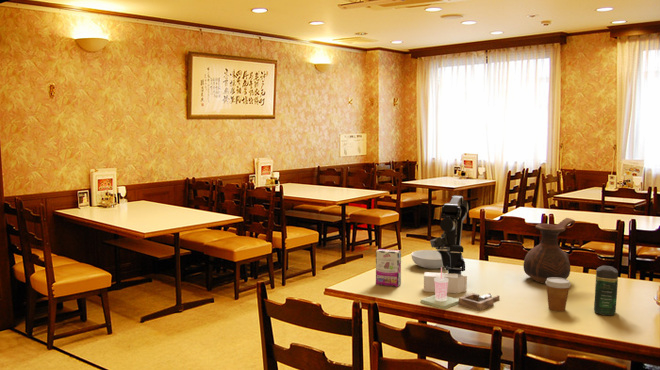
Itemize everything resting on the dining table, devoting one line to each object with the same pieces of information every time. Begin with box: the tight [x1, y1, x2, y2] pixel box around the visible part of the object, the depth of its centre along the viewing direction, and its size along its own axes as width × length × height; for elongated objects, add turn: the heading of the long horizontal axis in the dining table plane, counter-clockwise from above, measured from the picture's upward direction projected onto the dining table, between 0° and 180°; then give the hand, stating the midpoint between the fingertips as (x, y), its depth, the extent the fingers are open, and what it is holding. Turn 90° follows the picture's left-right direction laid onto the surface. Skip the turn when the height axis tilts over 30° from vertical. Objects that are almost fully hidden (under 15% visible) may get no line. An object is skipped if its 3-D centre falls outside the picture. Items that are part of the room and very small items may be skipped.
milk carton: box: [423, 271, 468, 294], centre depth 251 cm, size 7×7×19 cm
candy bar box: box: [375, 248, 402, 288], centre depth 260 cm, size 11×5×16 cm, turn 68°
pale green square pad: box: [420, 294, 459, 310], centre depth 234 cm, size 12×12×1 cm
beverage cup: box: [434, 267, 449, 301], centre depth 234 cm, size 6×6×14 cm
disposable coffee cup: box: [544, 277, 571, 312], centre depth 225 cm, size 10×10×12 cm
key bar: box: [478, 293, 493, 302], centre depth 235 cm, size 6×3×2 cm, turn 133°
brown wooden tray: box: [458, 292, 500, 311], centre depth 234 cm, size 19×10×3 cm, turn 132°
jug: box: [523, 217, 576, 284], centre depth 267 cm, size 22×22×30 cm
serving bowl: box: [410, 249, 445, 270], centre depth 294 cm, size 21×21×7 cm
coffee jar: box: [593, 264, 619, 316], centre depth 221 cm, size 10×8×19 cm
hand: (448, 267), depth 245 cm, fingers open, 9 cm apart
